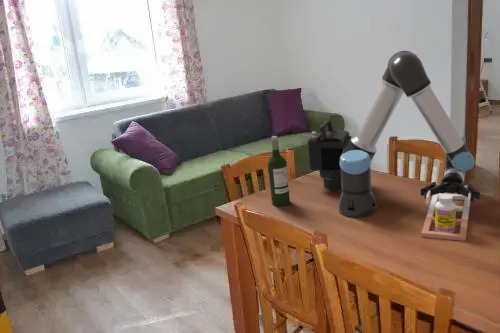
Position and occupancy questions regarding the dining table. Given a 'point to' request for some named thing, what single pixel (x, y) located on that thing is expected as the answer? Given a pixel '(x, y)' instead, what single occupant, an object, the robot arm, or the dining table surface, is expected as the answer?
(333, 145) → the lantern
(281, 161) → the wine bottle
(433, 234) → the rack
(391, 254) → the dining table surface
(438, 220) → the supplement bottle
